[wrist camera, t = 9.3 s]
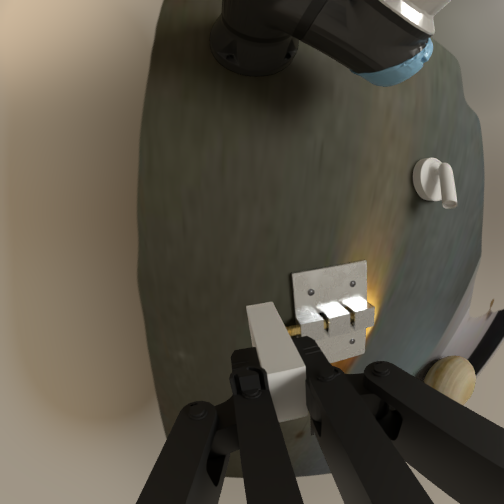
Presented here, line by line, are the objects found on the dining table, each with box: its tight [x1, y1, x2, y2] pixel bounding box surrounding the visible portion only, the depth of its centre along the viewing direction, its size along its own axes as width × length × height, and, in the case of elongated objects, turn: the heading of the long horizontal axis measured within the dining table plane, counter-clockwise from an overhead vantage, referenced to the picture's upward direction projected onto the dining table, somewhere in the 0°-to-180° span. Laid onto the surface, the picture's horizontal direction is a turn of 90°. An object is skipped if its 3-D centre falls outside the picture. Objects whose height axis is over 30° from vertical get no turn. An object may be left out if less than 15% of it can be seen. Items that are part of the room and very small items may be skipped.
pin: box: [286, 312, 354, 336], centre depth 46 cm, size 3×16×3 cm, turn 97°
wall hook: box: [413, 158, 457, 209], centre depth 42 cm, size 9×10×10 cm
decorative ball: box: [424, 356, 476, 405], centre depth 49 cm, size 15×15×15 cm
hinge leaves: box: [291, 260, 375, 363], centre depth 47 cm, size 20×14×4 cm
